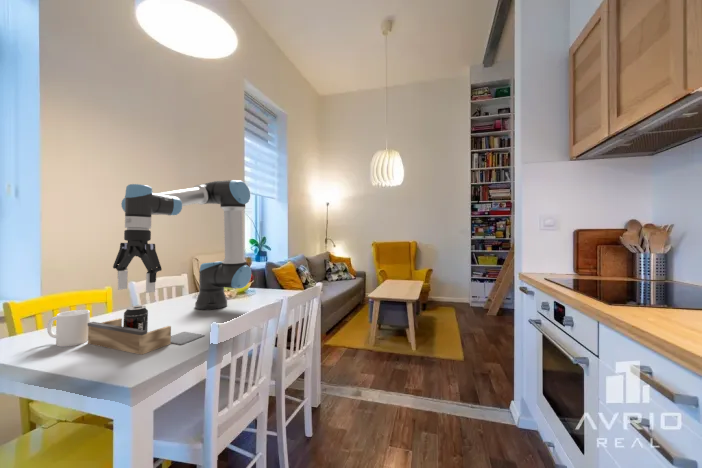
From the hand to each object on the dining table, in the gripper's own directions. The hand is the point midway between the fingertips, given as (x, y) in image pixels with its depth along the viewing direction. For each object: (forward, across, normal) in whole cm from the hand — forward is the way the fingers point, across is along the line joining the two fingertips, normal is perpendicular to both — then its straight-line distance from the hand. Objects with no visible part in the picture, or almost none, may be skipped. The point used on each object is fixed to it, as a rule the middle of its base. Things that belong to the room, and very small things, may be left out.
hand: (136, 290), depth 104 cm
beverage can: (+18, 0, 0) cm, 18 cm away
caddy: (+18, 0, -2) cm, 18 cm away
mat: (+18, +12, +9) cm, 23 cm away
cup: (+18, -20, -9) cm, 28 cm away
